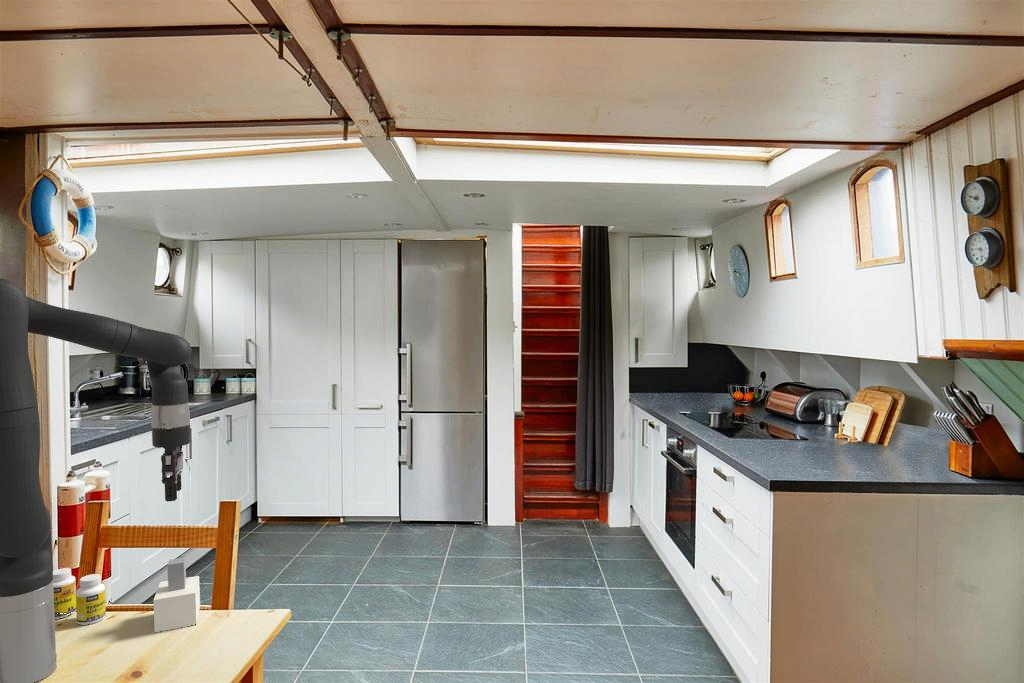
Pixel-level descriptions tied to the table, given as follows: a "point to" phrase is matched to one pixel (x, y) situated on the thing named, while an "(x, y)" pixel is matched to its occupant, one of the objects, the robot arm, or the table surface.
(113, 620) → the table surface
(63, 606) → the supplement bottle
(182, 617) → the white block
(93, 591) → the supplement bottle
